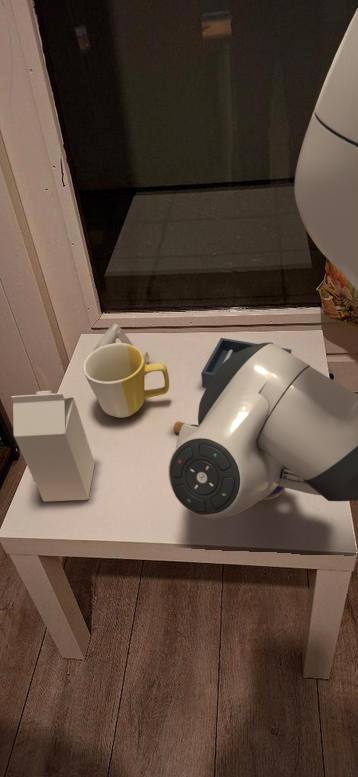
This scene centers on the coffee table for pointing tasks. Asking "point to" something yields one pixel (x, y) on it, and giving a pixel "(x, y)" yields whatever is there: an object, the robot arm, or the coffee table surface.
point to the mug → (121, 378)
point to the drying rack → (223, 357)
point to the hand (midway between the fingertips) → (266, 457)
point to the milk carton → (53, 445)
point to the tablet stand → (111, 337)
